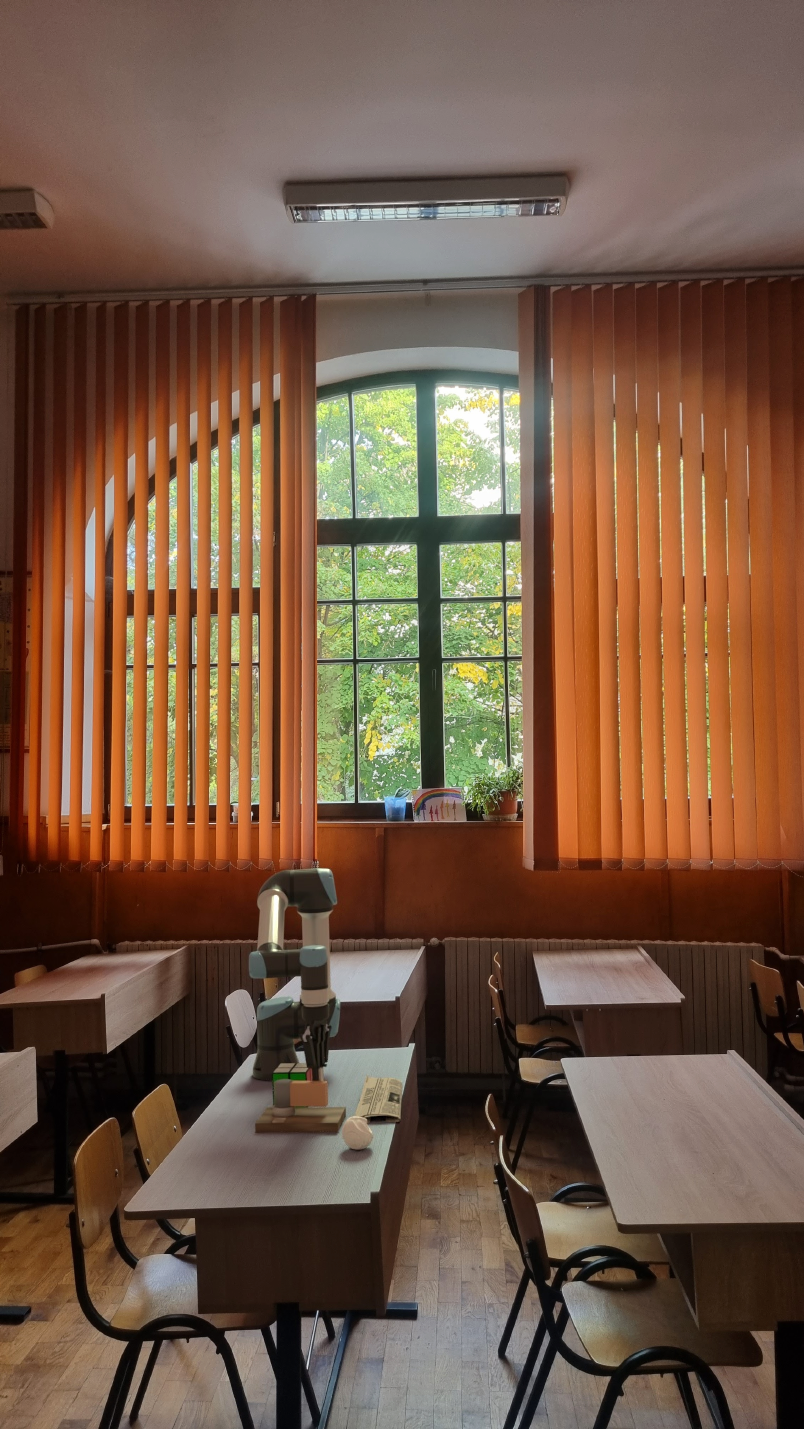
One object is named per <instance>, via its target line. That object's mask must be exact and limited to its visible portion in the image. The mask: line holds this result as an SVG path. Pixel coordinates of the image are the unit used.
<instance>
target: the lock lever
mask: <svg viewBox="0 0 804 1429" xmlns="http://www.w3.org/2000/svg"><path fill="white" fill-rule="evenodd" d="M328 1083H329V1082H328V1081H327V1080H324V1081H292V1080H290V1079H281V1080H277V1081H275V1082H274V1090H273V1091H274V1099H275V1106H276V1107H281V1108H283V1107H289V1106H308V1107H327V1106H328V1105H329V1092H328V1089H329V1088H328V1086H329V1085H328Z"/></svg>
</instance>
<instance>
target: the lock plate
mask: <svg viewBox="0 0 804 1429" xmlns="http://www.w3.org/2000/svg"><path fill="white" fill-rule="evenodd" d="M346 1108H347V1107H346V1106H328V1107H327V1106H326V1107H310V1106H308V1107H295V1106H289V1107H283V1108H281V1107H276V1106H275V1105H273V1104H272V1107H266V1109H264V1111H263V1112H262V1114H261V1115H260V1116H259V1117H258V1119H257V1120H256V1121H255V1122H254V1133H255V1134H264V1133H268V1134H272V1133H273V1134H275V1133H276V1134H278V1133H279V1134H280V1133H281V1134H282V1133H283V1134H287V1133H289V1134H290V1133H297V1134H299V1133H300V1134H301V1133H307V1134H308V1133H339V1132H340V1129H341V1127H342V1126H343V1124H344V1122H345V1118H346V1117H347V1112H346V1111H347V1110H346Z"/></svg>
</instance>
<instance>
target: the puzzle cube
mask: <svg viewBox="0 0 804 1429" xmlns="http://www.w3.org/2000/svg"><path fill="white" fill-rule="evenodd" d="M281 1079H290V1080H292V1081H313V1080H312V1069H311V1068H307V1065H306V1062H304V1063H303V1062H301V1063H300V1062H299V1063H297V1064H296V1063H284V1064H280V1065H279V1066H278V1067H277V1069H276V1070H275V1071H274V1072H273V1073H272V1080H271V1082H272V1083H271V1084H272V1106H273V1105H275V1099H274V1082H275V1081H277V1080H281ZM295 1107H309V1106H295Z"/></svg>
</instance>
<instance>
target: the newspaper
mask: <svg viewBox="0 0 804 1429" xmlns="http://www.w3.org/2000/svg"><path fill="white" fill-rule="evenodd" d="M362 1087H363V1088H362V1091H361V1095H360V1099H359V1101H358V1104H357V1107H356V1110H355V1113H354V1116H357V1117H363V1118H365V1119H367V1124H369V1123H371V1117H378V1116H386V1117H385V1122H397V1123H398V1122H400V1120H401V1111H402V1093H403V1082H402V1081H401V1080H400V1079H399V1078H396V1077H372V1076H369V1075H367V1074H366V1075H365V1079H364V1084H363V1086H362Z"/></svg>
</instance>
